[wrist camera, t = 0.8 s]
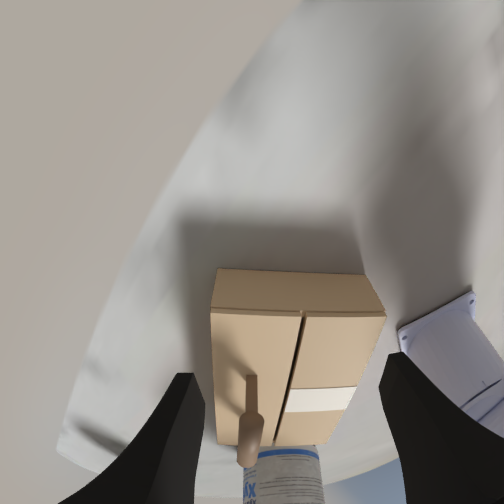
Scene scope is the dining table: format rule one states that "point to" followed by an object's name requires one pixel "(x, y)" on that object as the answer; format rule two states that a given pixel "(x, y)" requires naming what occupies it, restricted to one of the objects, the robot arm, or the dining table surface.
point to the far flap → (250, 375)
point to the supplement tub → (284, 476)
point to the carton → (312, 340)
